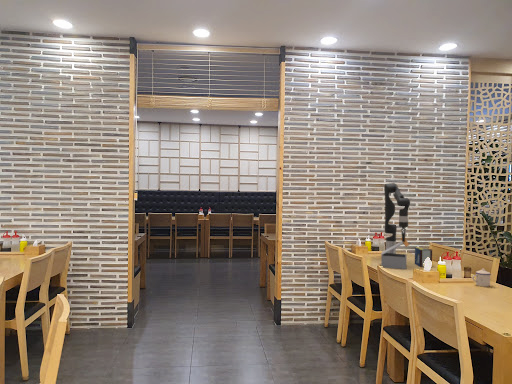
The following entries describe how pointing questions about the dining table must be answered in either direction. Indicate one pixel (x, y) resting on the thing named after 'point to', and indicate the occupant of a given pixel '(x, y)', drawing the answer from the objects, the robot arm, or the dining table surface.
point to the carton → (394, 260)
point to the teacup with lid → (482, 278)
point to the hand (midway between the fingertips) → (403, 241)
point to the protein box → (422, 255)
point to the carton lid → (395, 246)
